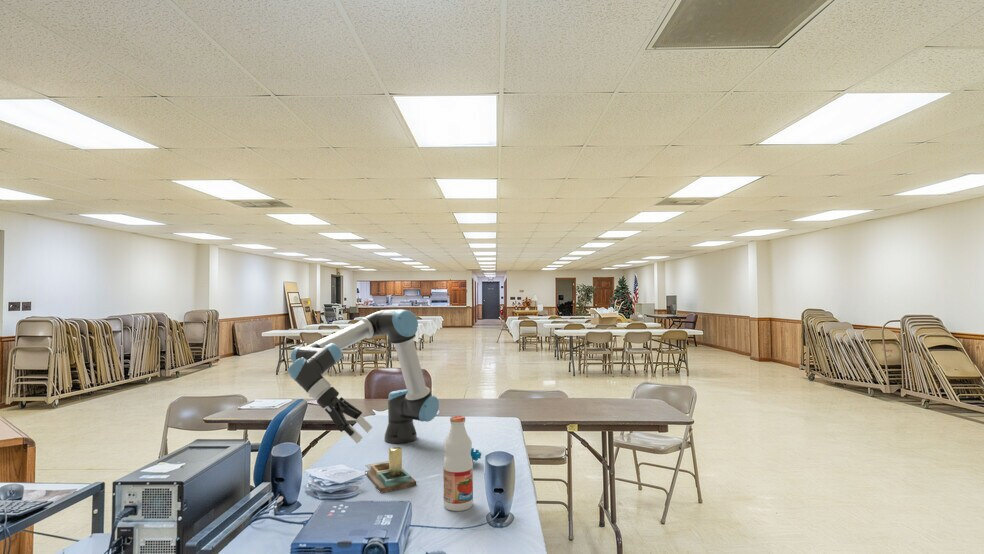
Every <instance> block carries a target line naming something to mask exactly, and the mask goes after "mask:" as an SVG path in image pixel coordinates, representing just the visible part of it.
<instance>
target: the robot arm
mask: <svg viewBox="0 0 984 554" xmlns="http://www.w3.org/2000/svg"><path fill="white" fill-rule="evenodd" d="M418 327H419V321H418V318H417V316H416V315H415V313H413V312H412V311H411V310H408V309H402V308H401V309H381V310H379V311H376V312H373V313H371V314H369V315H366V316H363V317H362V318H360V319H359V320H358V321H357V322H355V323H354V324H352V325H350V326H347V327H345V328H344V329H341V330H339V331H337V332H335V333H332V334H330V335H327V336H326V337H323V338H321V339H319V340H316V341H315V342H312V343H311V344H308V345H306V346H304V345H301V346H297V347H294V349H293V350H292V351H291V352H290V359H291V362H292V364H290V366H289V367H288V368H287V373H288V374H289V376H290V377H291V378H292V379H293V380H294V382H296V383H297V384H298V385H299V386H300V387H301V388H302V389H303V390H304V391H305V392H306V393H307V395H308V397H309V398H312V399H313V400H314V401H316V403H317V404H318V405H319V406H320V407H321V408H322V409H324V411H325V412H326V413H327V414H328V416H329V417H330V418H331V420H332V421H333V423H334V425H335V426H336V428H337V429H338V431H339V432H341V433H343V432H345V433H346V435H347V436H349V437H350V438H351V439H352V440H353V441H354V442H355V444H359V443H360V441H361V440H362V439H363V438H364V436H362V434H360V433H359V431H357V429H356V428H354V426H352V425H351V424H349V423H348V420H347V419H346V416H345V415H347V416H348V417H350V418H352V419H354V420H355V422H356V423H357V424H358V426H360V427H361V428H362V429H363V430H364V431H365V432H366V433H369V432H370V431H371V430H372V429H373V426H372V425H371V423H370V422H369V421H367V420H366V419H365V417H364V416H362V414H363V412H362V410H359V409H358V408H356V407H355V406H354V405H353V404H351V403H349V402H348V401H347V400H346V399H345V398H344V397H342V396H341V397H340V398H338V396H339V395H340V393H339V391H338V390H337V389H336V388H335V387H334V386H332V384H331V383H330V382H329V381H328V380H327V379H326V378H325V377H324V376H323V374H324V373H325V372H326V371H328V370H329V369H331V368H332V367H333V366H334V365H336V364H337V363H338V362H339V361H340V360H341V359H342V357H343V354H342V353H343V352H342V350H343V349H346V348H348V347H350V346H352V345H354V344H356V343H358V342H360V341H362V340H364V339H372V338H373V337H378V336H388V340H389V343H390V344H392V345H393V346H394V347H395V351H396V352H395V353H396V355H397V358H398V362H399V365H400V371H401V373H402V378H403V379H404V385H405V388H406V389H398V390H394V391H390V392H389V393H388V400H387V409H388V410H387V411H388V412H387V413H388V416H387V417H388V418H387V419H388V421H387V422H388V423H387V426H386V429H385V433H384V441H385V442H386V443H391V444H406V443H411V442H413V441H415V440H417V439H418V437H417V436H418V435H417V429H416V427H415V424H414V421H419V422H427V423H428V422H431V421H432V420H434V418H435V417H436V416H437V415H438V412H439V409H440V402H439V399H438V397H436V396H435V395H432V391H431V389H430V387H428V386H427V385H426V382H425V379H424V374H423V371H422V367H421V364H420V360H419V355H418V352H417V347H416V345H415V340H414V339H415V338H416V333H417V331H418Z"/></svg>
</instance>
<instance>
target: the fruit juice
mask: <svg viewBox="0 0 984 554" xmlns="http://www.w3.org/2000/svg"><path fill="white" fill-rule="evenodd" d="M465 423H466V417H465V416H464V415H453V416H450V417H449V424H450V429H449V432H448V435H447V436H446V438H445V440H444V442H443V450H444V457H443V464H442V465H443V505H444V508H445V509H446V510H448V511H452V512H462V511H466V510H469V509H471V507H473V505H474V504H473V503H474V487H473V485H474V479H473V478H474V475H473V471H474V470H473V468H474V467H473V465H474V464H473V462H474V461H473V462H472V457H471V449H472V448H473V442H472V439H471V438H470V436H469V435H468V433H467V431H466V430H467V429H466V427H465Z"/></svg>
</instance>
